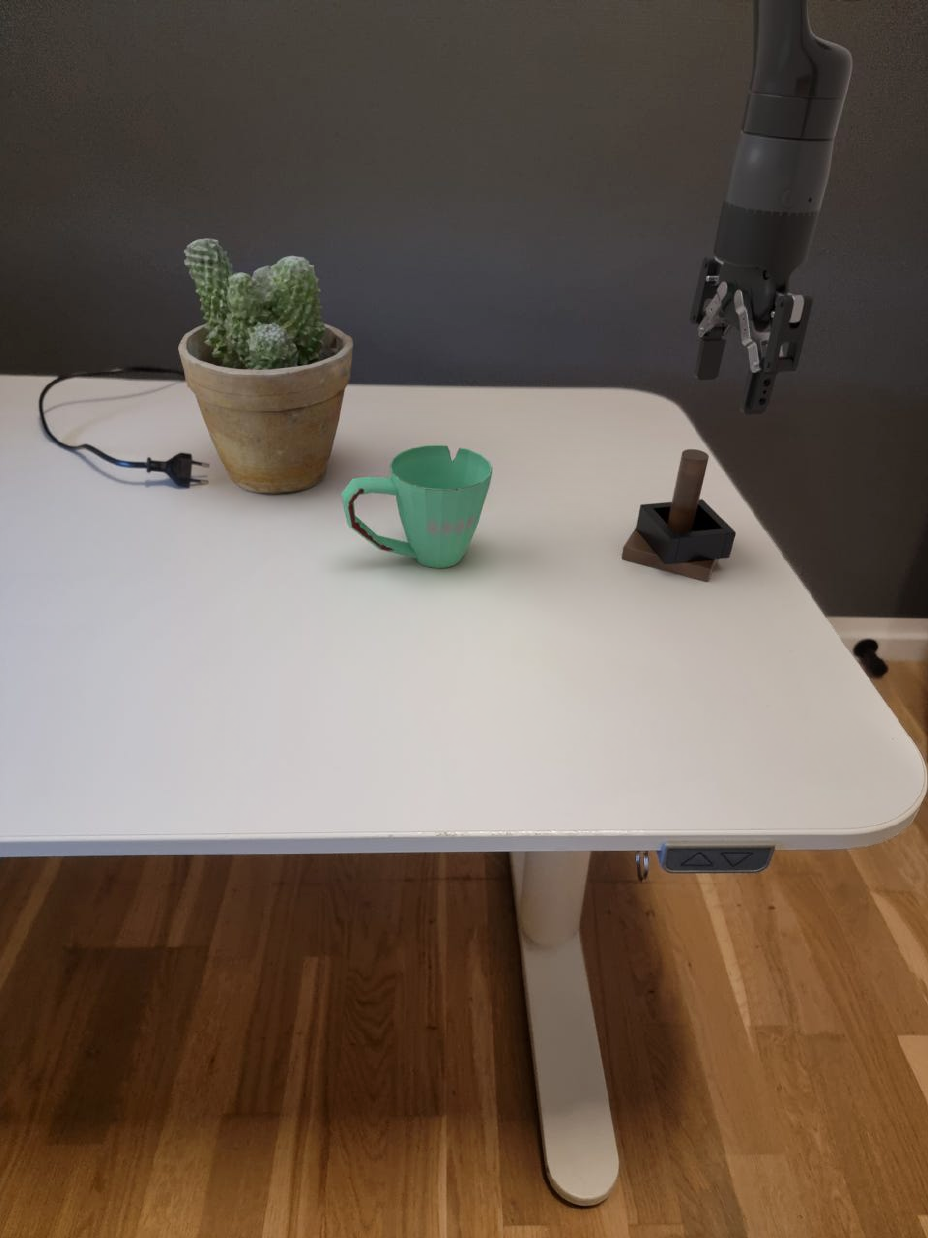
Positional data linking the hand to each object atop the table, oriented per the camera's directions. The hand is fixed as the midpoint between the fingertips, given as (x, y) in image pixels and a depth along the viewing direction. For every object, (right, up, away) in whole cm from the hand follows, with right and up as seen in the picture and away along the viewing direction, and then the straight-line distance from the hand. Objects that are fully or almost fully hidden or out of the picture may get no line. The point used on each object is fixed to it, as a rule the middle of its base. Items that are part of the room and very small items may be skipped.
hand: (727, 394), depth 78 cm
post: (-2, -13, +13) cm, 19 cm away
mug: (-29, -14, +9) cm, 34 cm away
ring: (-1, -12, +11) cm, 17 cm away
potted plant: (-46, -3, +24) cm, 52 cm away
